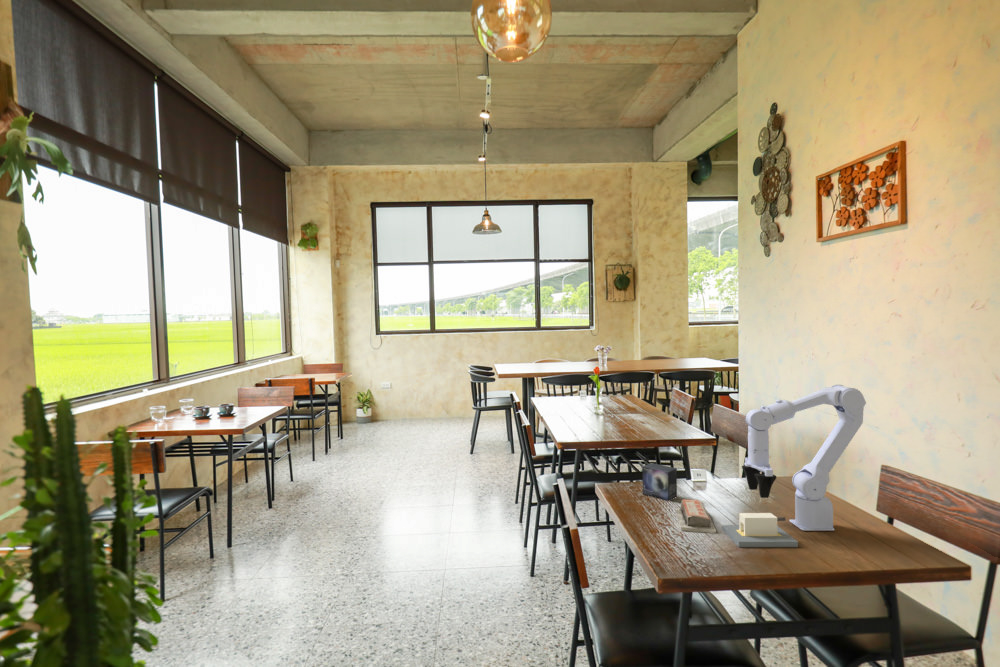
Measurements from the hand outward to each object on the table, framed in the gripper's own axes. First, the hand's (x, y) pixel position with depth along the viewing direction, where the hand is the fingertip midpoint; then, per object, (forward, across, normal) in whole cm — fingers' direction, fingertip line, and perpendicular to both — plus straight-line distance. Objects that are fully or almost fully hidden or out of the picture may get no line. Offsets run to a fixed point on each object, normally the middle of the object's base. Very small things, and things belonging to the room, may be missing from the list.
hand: (758, 493), depth 163 cm
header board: (+9, +11, -5) cm, 15 cm away
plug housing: (+8, +11, -4) cm, 14 cm away
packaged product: (+10, -3, -19) cm, 21 cm away
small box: (+10, -27, -23) cm, 37 cm away
